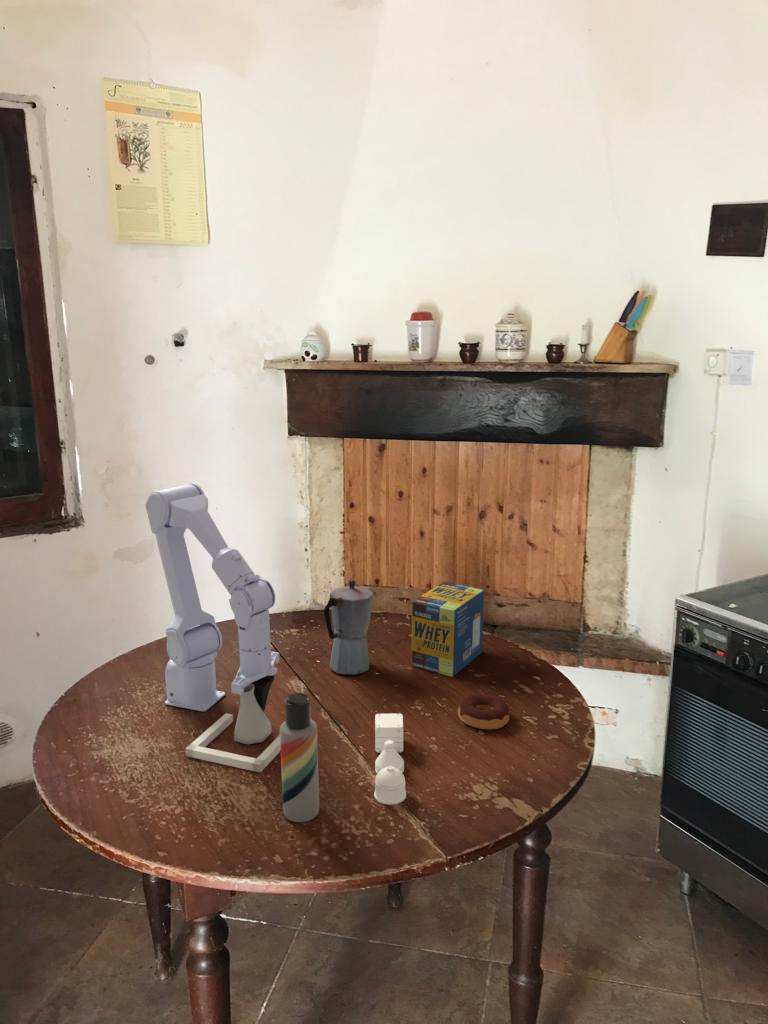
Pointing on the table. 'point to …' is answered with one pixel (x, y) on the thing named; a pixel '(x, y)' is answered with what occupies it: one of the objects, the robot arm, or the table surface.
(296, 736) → the lotion bottle
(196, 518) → the robot arm
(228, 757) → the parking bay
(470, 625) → the protein box
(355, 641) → the moka pot
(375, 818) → the table surface
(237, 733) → the flask
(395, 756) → the container set
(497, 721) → the donut
